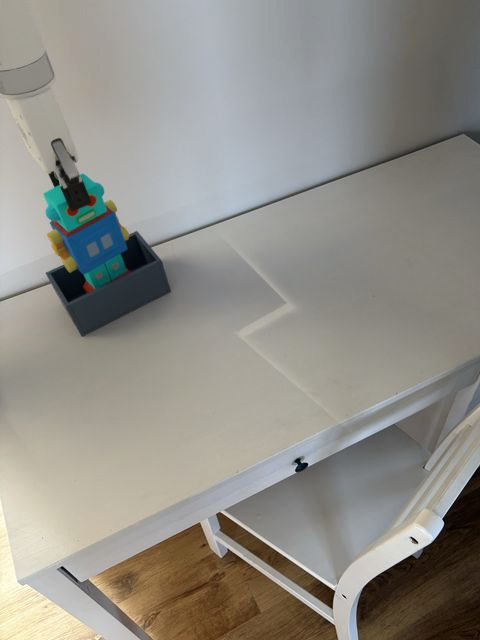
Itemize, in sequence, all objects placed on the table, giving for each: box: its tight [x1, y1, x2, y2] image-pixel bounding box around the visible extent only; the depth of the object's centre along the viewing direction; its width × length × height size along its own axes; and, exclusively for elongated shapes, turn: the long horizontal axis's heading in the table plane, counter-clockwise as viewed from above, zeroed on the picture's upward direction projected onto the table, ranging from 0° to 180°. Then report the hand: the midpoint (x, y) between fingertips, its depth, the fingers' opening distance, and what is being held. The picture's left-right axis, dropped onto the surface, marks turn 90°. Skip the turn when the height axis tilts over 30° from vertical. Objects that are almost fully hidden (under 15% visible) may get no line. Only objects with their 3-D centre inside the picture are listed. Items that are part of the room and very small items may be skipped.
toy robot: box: [42, 171, 131, 294], centre depth 85 cm, size 12×6×25 cm, turn 132°
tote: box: [45, 230, 172, 337], centre depth 94 cm, size 17×10×8 cm, turn 124°
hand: (72, 195), depth 79 cm, fingers closed on toy robot, 5 cm apart
